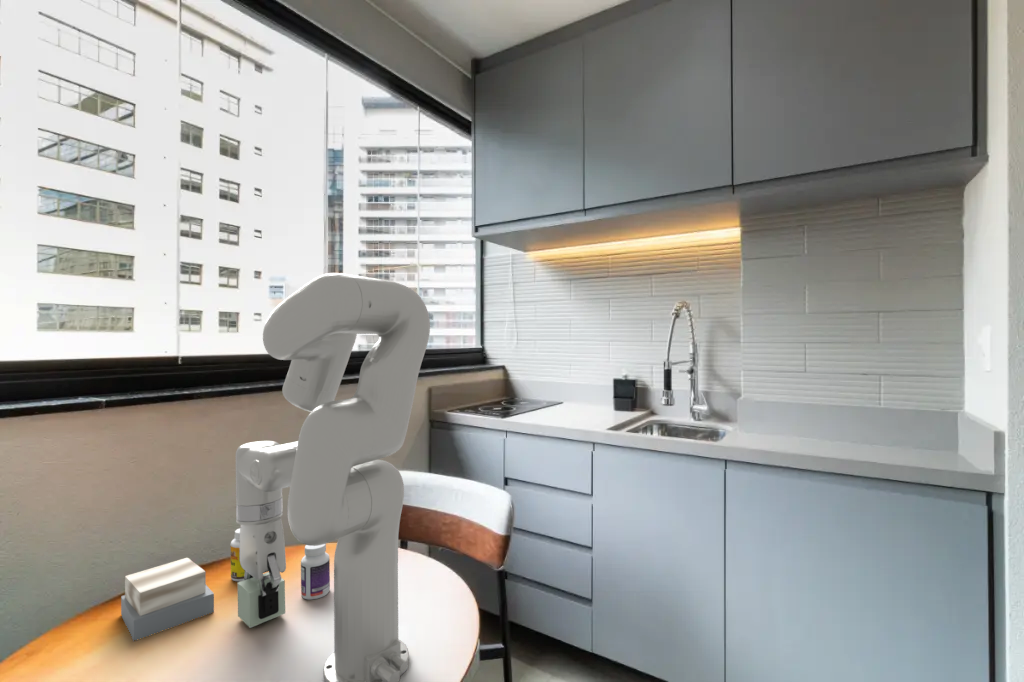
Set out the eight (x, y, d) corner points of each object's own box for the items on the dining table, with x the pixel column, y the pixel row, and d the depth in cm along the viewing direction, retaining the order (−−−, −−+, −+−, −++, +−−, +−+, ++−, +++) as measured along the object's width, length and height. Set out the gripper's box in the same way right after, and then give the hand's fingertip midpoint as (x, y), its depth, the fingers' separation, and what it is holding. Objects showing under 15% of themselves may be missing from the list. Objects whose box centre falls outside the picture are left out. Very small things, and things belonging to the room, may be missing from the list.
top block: (205, 592, 90) (205, 571, 90) (140, 616, 82) (140, 592, 82) (187, 577, 96) (187, 557, 96) (125, 597, 89) (125, 576, 89)
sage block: (285, 613, 87) (284, 580, 87) (249, 628, 83) (249, 593, 83) (272, 602, 91) (271, 570, 91) (237, 615, 87) (237, 582, 87)
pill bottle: (334, 587, 99) (334, 540, 99) (321, 601, 93) (321, 551, 93) (309, 586, 99) (309, 539, 99) (295, 599, 94) (295, 550, 94)
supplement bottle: (231, 574, 105) (231, 527, 105) (259, 568, 107) (259, 523, 108) (229, 585, 100) (229, 536, 100) (259, 578, 103) (259, 531, 103)
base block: (213, 614, 90) (213, 593, 90) (133, 644, 81) (133, 620, 81) (195, 593, 98) (195, 573, 98) (121, 617, 89) (121, 596, 89)
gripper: (300, 513, 84) (302, 616, 84) (263, 496, 96) (264, 586, 96) (255, 526, 79) (257, 636, 78) (221, 506, 91) (223, 601, 90)
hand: (261, 608), depth 87 cm, fingers closed on sage block, 6 cm apart
